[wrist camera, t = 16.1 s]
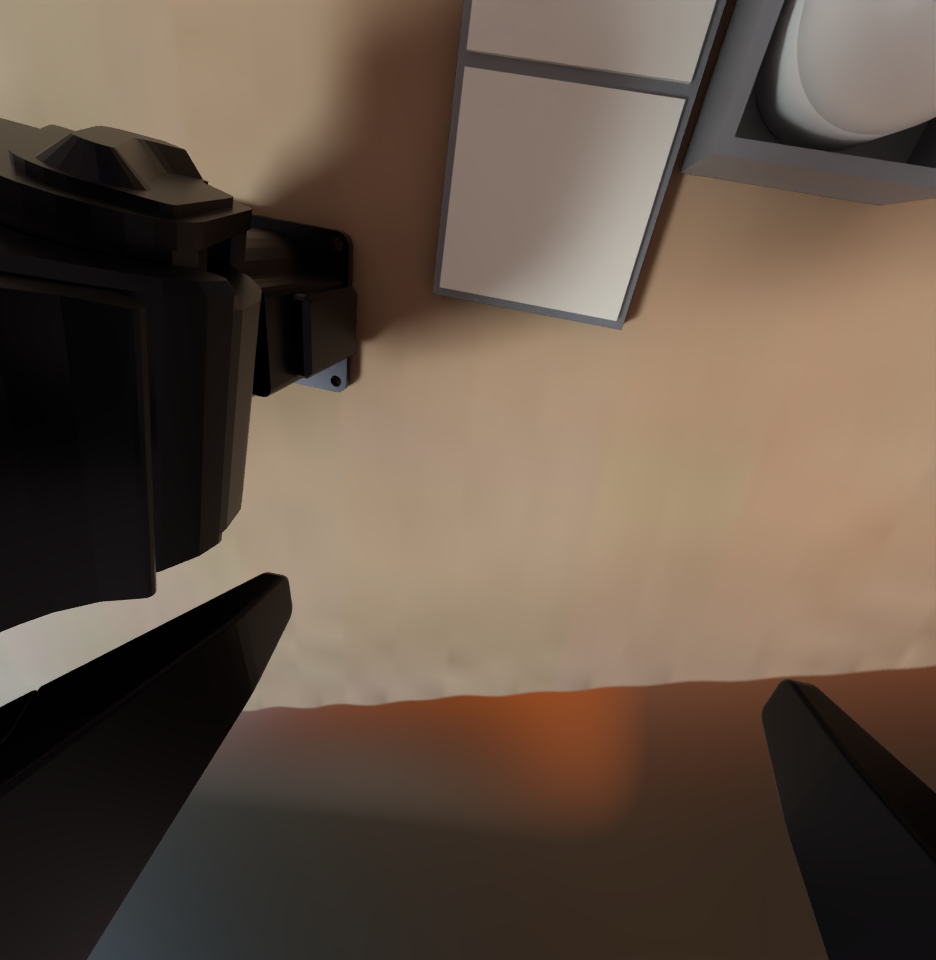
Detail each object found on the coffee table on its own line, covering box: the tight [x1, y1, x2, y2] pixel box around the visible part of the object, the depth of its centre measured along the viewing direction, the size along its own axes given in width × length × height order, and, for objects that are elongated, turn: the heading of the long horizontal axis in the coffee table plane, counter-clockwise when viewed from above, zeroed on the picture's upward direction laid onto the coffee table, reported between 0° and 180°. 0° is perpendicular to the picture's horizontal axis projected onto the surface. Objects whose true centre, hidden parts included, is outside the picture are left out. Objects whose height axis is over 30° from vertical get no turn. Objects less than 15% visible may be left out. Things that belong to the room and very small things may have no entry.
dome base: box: [680, 0, 936, 205], centre depth 11 cm, size 6×6×4 cm
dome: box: [756, 0, 936, 152], centre depth 10 cm, size 5×5×5 cm
